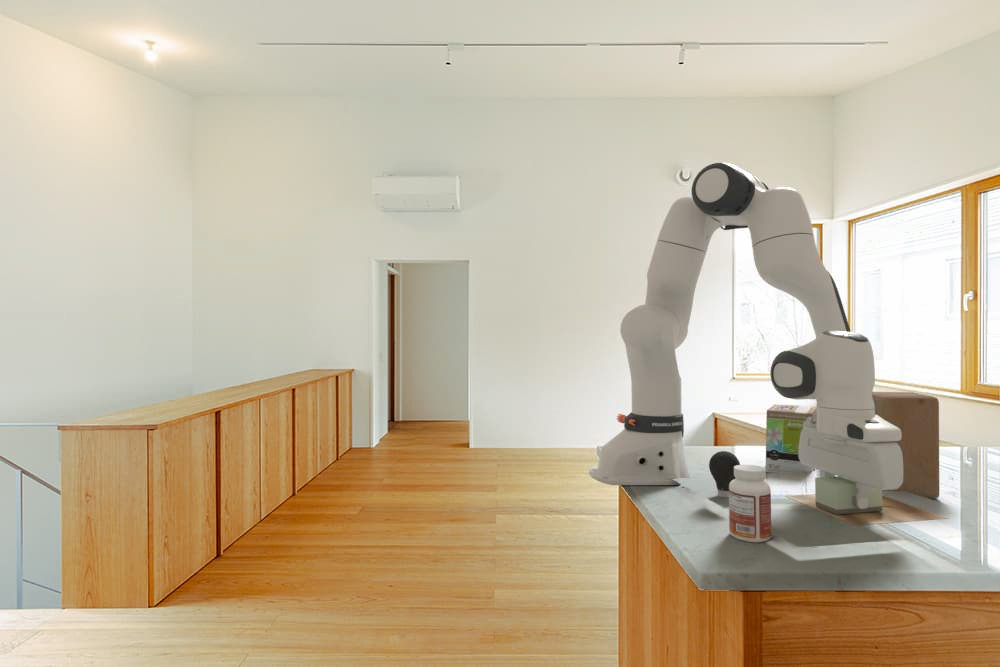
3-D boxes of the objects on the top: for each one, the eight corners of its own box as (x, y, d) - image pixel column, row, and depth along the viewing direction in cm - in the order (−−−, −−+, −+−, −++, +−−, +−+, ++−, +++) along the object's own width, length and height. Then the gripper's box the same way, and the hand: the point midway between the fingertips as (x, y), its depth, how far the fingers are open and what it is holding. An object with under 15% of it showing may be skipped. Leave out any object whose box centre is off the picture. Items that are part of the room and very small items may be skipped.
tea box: (813, 478, 128) (813, 412, 128) (764, 473, 134) (764, 409, 134) (818, 465, 141) (817, 405, 141) (773, 460, 146) (772, 402, 146)
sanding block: (836, 514, 98) (836, 484, 98) (815, 505, 103) (815, 477, 103) (882, 510, 100) (882, 481, 100) (859, 502, 104) (859, 475, 104)
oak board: (855, 534, 93) (854, 525, 93) (785, 503, 110) (785, 495, 110) (949, 527, 96) (949, 518, 96) (867, 498, 113) (867, 490, 113)
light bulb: (737, 509, 106) (737, 455, 106) (706, 505, 109) (706, 452, 109) (743, 502, 111) (742, 450, 111) (712, 497, 114) (712, 447, 114)
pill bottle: (760, 529, 95) (760, 463, 95) (778, 543, 89) (778, 472, 89) (723, 530, 95) (722, 463, 95) (738, 543, 89) (738, 472, 89)
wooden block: (941, 500, 111) (941, 397, 111) (884, 498, 113) (883, 396, 113) (915, 487, 121) (915, 391, 121) (863, 484, 123) (862, 391, 123)
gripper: (789, 415, 111) (789, 487, 111) (876, 433, 91) (876, 521, 91) (818, 414, 112) (819, 485, 112) (910, 432, 92) (911, 519, 92)
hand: (845, 502), depth 101 cm, fingers closed on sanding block, 5 cm apart
